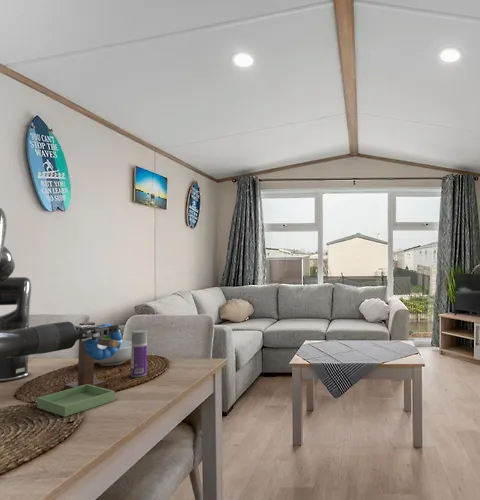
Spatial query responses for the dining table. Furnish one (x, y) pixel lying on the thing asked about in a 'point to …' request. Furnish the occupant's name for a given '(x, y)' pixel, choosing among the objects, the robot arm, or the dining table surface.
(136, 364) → the container
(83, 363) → the rack
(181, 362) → the dining table surface
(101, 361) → the cereal bowl
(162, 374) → the dining table surface
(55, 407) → the tray
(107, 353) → the ring
